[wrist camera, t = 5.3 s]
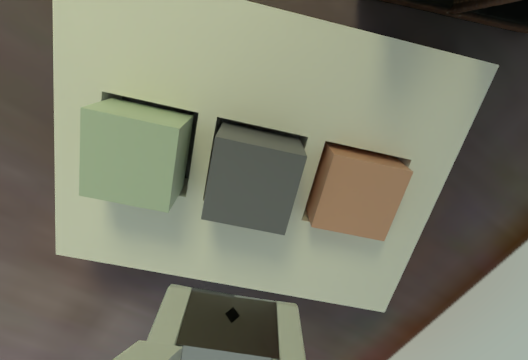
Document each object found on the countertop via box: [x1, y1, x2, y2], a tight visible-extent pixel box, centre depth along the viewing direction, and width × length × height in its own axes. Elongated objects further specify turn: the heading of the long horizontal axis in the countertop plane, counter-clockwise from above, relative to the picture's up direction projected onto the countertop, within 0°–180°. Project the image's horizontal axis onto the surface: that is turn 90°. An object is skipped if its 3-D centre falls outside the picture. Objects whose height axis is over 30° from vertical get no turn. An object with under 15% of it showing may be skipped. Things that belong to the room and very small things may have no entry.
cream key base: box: [53, 0, 499, 313], centre depth 18 cm, size 15×20×4 cm
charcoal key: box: [201, 122, 307, 235], centre depth 16 cm, size 4×4×3 cm
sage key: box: [79, 98, 194, 213], centre depth 15 cm, size 4×4×3 cm
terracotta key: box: [306, 141, 413, 241], centre depth 18 cm, size 4×4×3 cm
